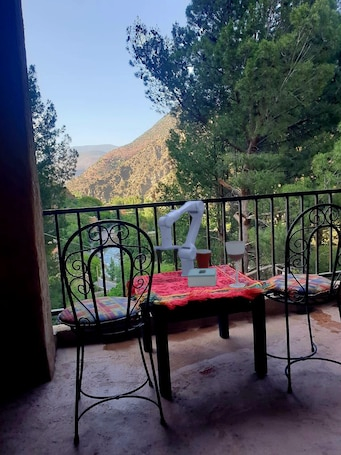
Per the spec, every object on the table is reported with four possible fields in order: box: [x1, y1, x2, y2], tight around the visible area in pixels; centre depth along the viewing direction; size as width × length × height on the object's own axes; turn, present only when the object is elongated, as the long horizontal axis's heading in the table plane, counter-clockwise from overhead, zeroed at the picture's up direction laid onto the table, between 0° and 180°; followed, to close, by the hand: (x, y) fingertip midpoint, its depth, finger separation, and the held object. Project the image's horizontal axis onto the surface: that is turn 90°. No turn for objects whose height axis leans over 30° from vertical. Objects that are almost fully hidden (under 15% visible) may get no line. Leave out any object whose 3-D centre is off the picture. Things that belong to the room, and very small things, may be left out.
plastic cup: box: [195, 248, 212, 269], centre depth 220 cm, size 11×11×12 cm
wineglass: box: [225, 240, 246, 289], centre depth 180 cm, size 9×10×22 cm
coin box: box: [186, 267, 218, 288], centre depth 191 cm, size 14×14×6 cm
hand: (168, 262), depth 199 cm, fingers open, 7 cm apart
